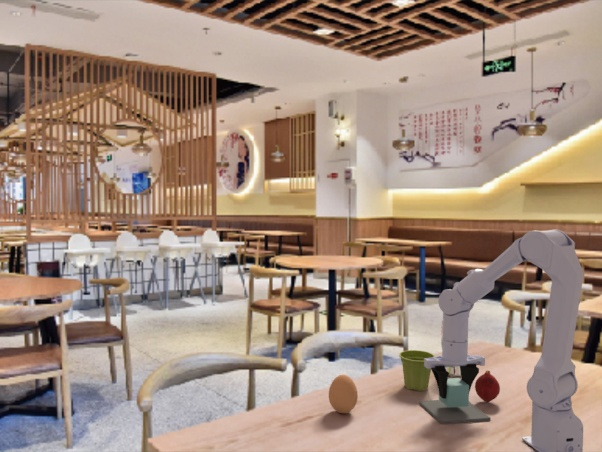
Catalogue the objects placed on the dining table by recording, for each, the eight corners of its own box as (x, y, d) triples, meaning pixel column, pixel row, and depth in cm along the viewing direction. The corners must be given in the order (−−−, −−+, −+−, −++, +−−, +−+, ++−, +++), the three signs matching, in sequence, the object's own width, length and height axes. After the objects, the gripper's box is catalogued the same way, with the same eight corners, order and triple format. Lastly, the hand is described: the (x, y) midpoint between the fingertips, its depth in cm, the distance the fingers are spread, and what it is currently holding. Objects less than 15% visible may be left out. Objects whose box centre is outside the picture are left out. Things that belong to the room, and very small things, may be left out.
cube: (468, 406, 122) (469, 385, 122) (448, 407, 121) (448, 386, 121) (458, 398, 127) (458, 378, 126) (438, 399, 126) (439, 378, 126)
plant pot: (442, 390, 138) (442, 357, 138) (413, 395, 134) (413, 362, 133) (419, 379, 146) (420, 348, 146) (391, 384, 142) (392, 352, 142)
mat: (490, 420, 119) (490, 417, 119) (441, 424, 117) (441, 421, 117) (464, 400, 131) (464, 398, 131) (419, 403, 129) (419, 401, 129)
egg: (323, 409, 125) (324, 372, 124) (349, 405, 127) (349, 369, 127) (335, 420, 118) (336, 381, 118) (362, 416, 121) (362, 378, 120)
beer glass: (435, 371, 153) (436, 320, 153) (453, 367, 156) (454, 318, 156) (451, 378, 147) (452, 325, 146) (470, 375, 150) (471, 323, 149)
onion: (501, 407, 126) (502, 375, 126) (476, 405, 128) (477, 373, 127) (497, 398, 132) (498, 367, 132) (473, 397, 133) (474, 366, 133)
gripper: (474, 334, 128) (473, 388, 129) (419, 336, 126) (418, 392, 126) (490, 341, 121) (488, 399, 122) (431, 344, 119) (430, 403, 119)
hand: (453, 396), depth 124 cm, fingers closed on cube, 5 cm apart
